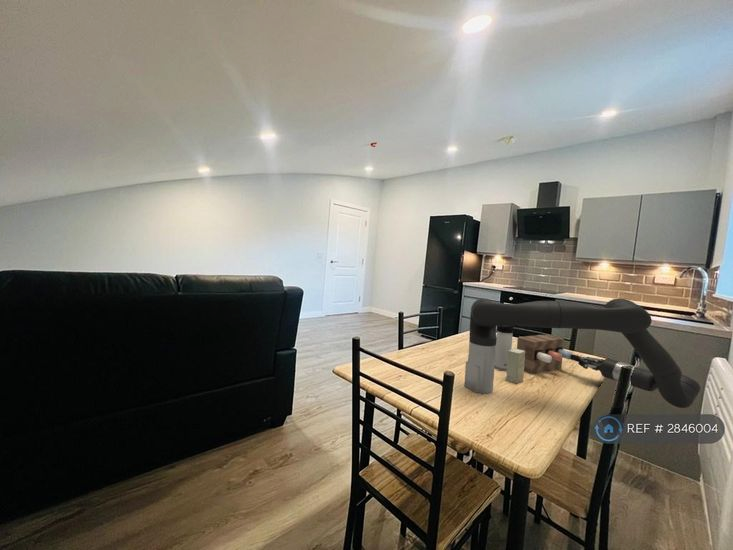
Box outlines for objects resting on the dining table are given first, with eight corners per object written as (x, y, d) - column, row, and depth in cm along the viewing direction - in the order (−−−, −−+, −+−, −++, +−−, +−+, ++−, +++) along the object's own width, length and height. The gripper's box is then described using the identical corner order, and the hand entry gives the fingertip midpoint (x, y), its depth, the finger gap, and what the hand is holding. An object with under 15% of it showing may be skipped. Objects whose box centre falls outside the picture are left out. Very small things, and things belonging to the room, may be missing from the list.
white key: (546, 363, 119) (547, 355, 119) (536, 359, 123) (536, 352, 123) (551, 362, 121) (552, 355, 120) (541, 359, 125) (541, 351, 124)
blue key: (567, 359, 125) (568, 352, 125) (557, 356, 129) (557, 349, 129) (572, 359, 126) (572, 352, 126) (561, 355, 130) (562, 348, 130)
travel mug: (509, 372, 124) (512, 326, 123) (492, 368, 128) (496, 324, 127) (512, 368, 129) (515, 324, 128) (496, 364, 133) (499, 322, 132)
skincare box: (516, 384, 113) (519, 353, 112) (505, 380, 116) (507, 350, 115) (523, 380, 117) (526, 350, 116) (512, 376, 120) (514, 347, 119)
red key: (557, 361, 122) (558, 354, 122) (547, 358, 126) (547, 350, 126) (562, 360, 123) (562, 353, 123) (551, 357, 127) (552, 350, 127)
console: (531, 374, 124) (534, 342, 123) (515, 367, 131) (517, 337, 130) (561, 369, 132) (563, 338, 131) (544, 362, 139) (546, 334, 138)
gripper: (630, 360, 112) (581, 346, 128) (610, 363, 106) (562, 349, 122) (628, 379, 112) (580, 363, 128) (608, 383, 107) (561, 366, 123)
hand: (571, 356), depth 125 cm, fingers closed
